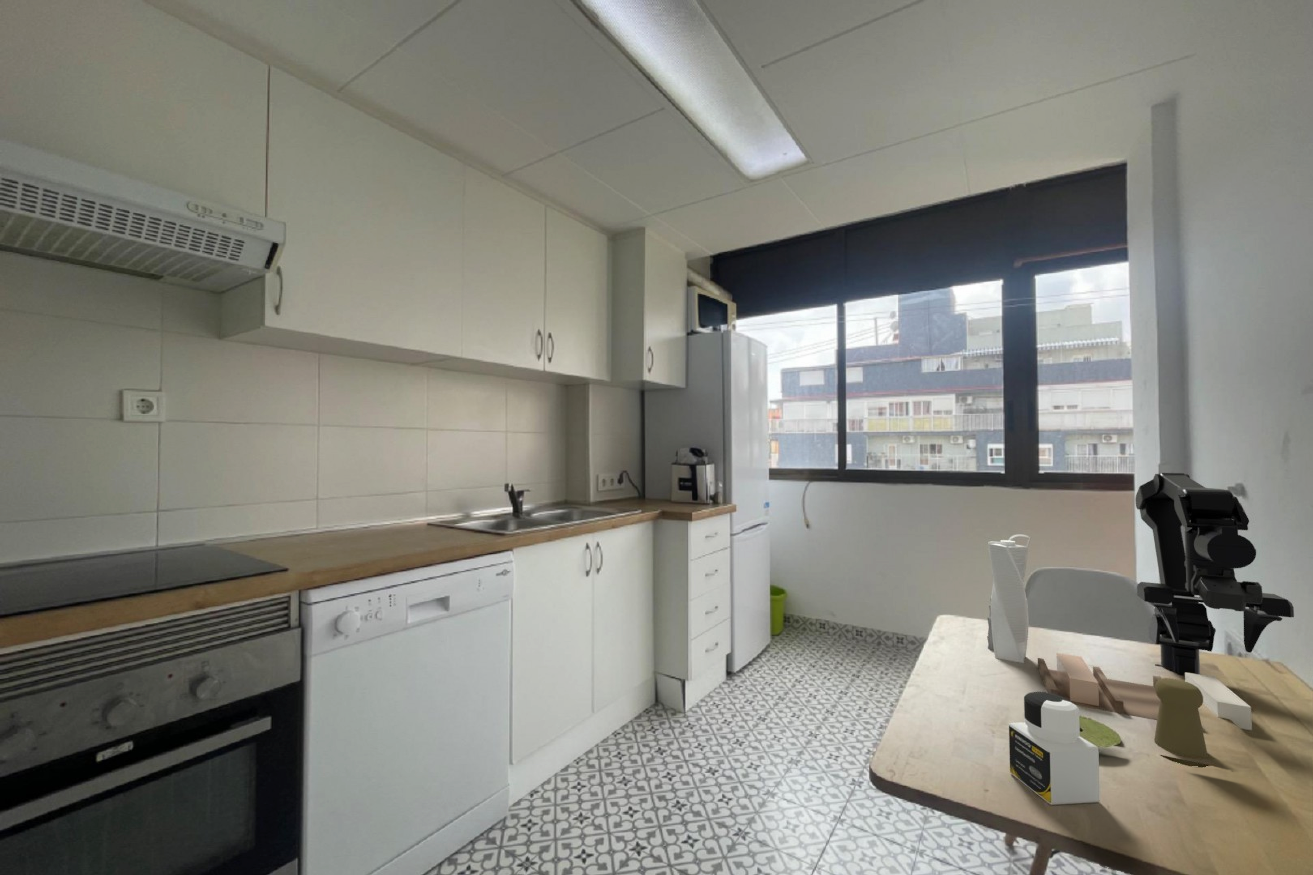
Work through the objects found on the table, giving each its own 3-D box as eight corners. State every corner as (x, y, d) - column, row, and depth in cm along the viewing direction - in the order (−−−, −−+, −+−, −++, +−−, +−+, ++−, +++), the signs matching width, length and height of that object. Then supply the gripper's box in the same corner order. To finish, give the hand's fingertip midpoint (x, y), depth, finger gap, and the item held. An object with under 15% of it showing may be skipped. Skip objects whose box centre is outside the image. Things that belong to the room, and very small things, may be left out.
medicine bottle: (1008, 773, 75) (1006, 687, 75) (1055, 770, 75) (1053, 685, 76) (1050, 806, 68) (1047, 711, 68) (1101, 803, 68) (1098, 709, 69)
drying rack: (1038, 673, 110) (1037, 657, 110) (1160, 693, 100) (1160, 676, 100) (1051, 706, 95) (1050, 688, 95) (1196, 734, 85) (1195, 714, 86)
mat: (1015, 729, 87) (1015, 717, 87) (1057, 716, 91) (1057, 704, 91) (1094, 766, 77) (1094, 752, 77) (1137, 749, 81) (1137, 736, 81)
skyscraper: (1032, 659, 117) (1029, 532, 118) (1034, 672, 110) (1031, 537, 111) (987, 652, 121) (984, 530, 122) (987, 663, 114) (984, 534, 116)
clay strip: (1185, 693, 101) (1184, 672, 101) (1214, 698, 99) (1213, 676, 99) (1218, 725, 89) (1217, 701, 89) (1252, 731, 87) (1251, 707, 87)
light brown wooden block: (1057, 672, 107) (1056, 652, 107) (1082, 677, 105) (1081, 656, 105) (1070, 700, 95) (1069, 677, 95) (1098, 705, 93) (1098, 682, 93)
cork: (1221, 769, 76) (1218, 691, 76) (1172, 764, 77) (1169, 688, 77) (1188, 747, 82) (1185, 674, 82) (1143, 742, 83) (1140, 671, 83)
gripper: (1151, 560, 93) (1155, 650, 92) (1310, 572, 83) (1314, 673, 83) (1134, 551, 102) (1137, 633, 102) (1274, 561, 93) (1279, 651, 92)
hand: (1211, 646), depth 94 cm, fingers open, 9 cm apart
